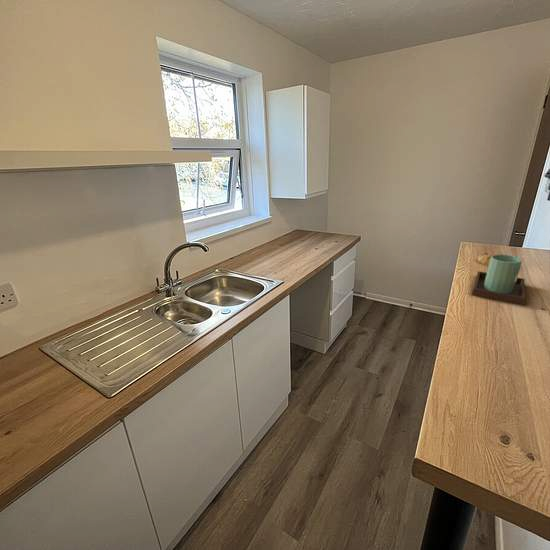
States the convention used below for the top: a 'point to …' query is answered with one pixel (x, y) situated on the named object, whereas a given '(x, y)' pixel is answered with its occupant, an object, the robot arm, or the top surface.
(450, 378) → the top surface
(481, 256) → the pastry
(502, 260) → the cup
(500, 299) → the tray
